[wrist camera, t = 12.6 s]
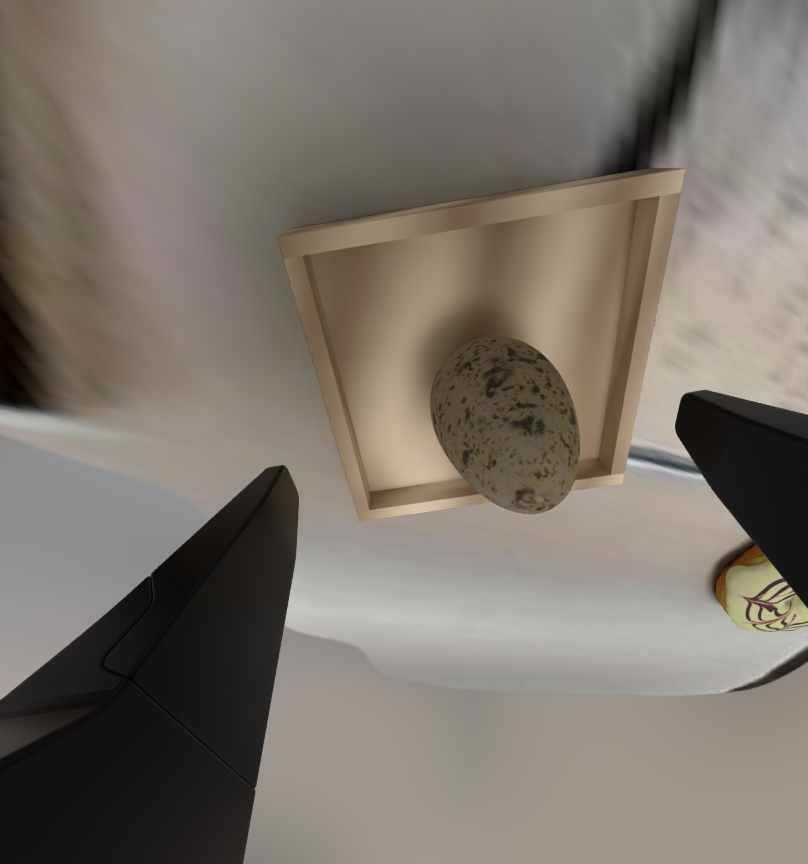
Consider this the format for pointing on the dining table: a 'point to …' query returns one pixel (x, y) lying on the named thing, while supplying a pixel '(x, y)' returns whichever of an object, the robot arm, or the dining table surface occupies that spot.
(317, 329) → the wooden tray
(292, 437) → the dining table surface
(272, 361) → the dining table surface
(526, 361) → the decorative egg
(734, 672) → the dining table surface
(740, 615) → the decorated donut
